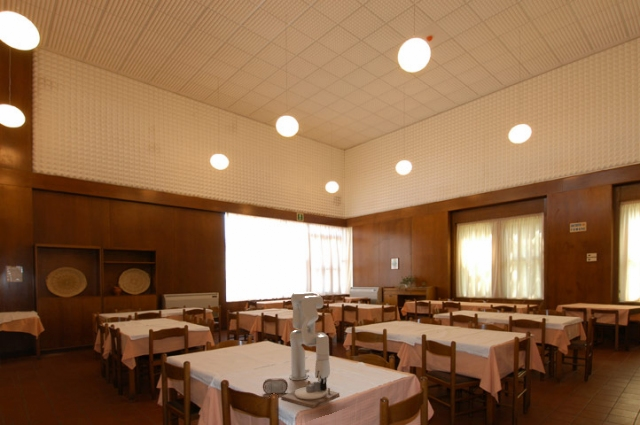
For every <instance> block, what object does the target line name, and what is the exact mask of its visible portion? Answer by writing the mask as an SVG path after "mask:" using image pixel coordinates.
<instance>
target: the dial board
mask: <svg viewBox="0 0 640 425" xmlns="http://www.w3.org/2000/svg"><path fill="white" fill-rule="evenodd" d="M309 384H311V380H307V385H309ZM327 388H328V389H327V390H326V395H325V396H324V397H322V398H319V399H311V400H307V399H300V398H297V397H296V396H295V391H296V390H294V391H292V392H289V393H286V394H284V395H281V398H280V399H281V400H282V401H283V400H284V401H286V402H289V403H294V404H297V405H301V406H303V407H307V408H312V409H315V408H316V407H318V406H321V405H323V404H325V403H327V402H329V401H331V400H333V399H335V398H337V397H339V396H340V392H337V391H333V390H331V387H327Z"/></svg>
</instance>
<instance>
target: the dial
mask: <svg viewBox="0 0 640 425" xmlns="http://www.w3.org/2000/svg"><path fill="white" fill-rule="evenodd" d="M294 391H295V396H296V397H297V398H300V399H307V400H311V399H319V398H322V397H324V396H325V395H326V390H325V391H323V390H320V381H313V384H311V383H310V384H309V385H308V384H306V385H305V386H303V387H300V388H297V389H295V390H294Z"/></svg>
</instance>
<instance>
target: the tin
mask: <svg viewBox="0 0 640 425" xmlns="http://www.w3.org/2000/svg"><path fill="white" fill-rule="evenodd" d="M288 384H289V383H288V381H287V380H286V379H284V378H266V379H265V380H264V381H263V384H262V390H263V392H264V393H265V394H267V395H272V394H271V393H277V394H276V395H281V394H285V393H286V392H287V390H288V387H289V385H288Z"/></svg>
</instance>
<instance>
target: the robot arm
mask: <svg viewBox="0 0 640 425" xmlns="http://www.w3.org/2000/svg"><path fill="white" fill-rule="evenodd" d="M290 300H291V305H292V327H293V329H295V330H292V331H291V332H290V333H289V341H290V352H291V354H290V356H291V357H290V358H291V359H290V361H291V363H290V364H291V365H290V366H291V367H290V368H291V370H290V371H291V374H290V375H289V379H290V380H292V381H303V380H307V379H308V377H309V376H308V374H307V373H310V372H311V370H310V369H309V368H308V369H306V351H305V348H304V347H303V345H304V346H306V347H315V349H316V350H315V357H316V359H315V366H314V367H315V368H314V370H315V371H314V376H315V378H314V379H317V382H319V381H320V390H323V391H325V390H328V389H327V388H328V387H327V381H328V378H329V376H330V373H331V369H330V368H331V367H330V343H329V342H330V340H329V336H328V335H327V334H326V333H325V332H316V322H317V321H318V319H319V318H320V316H319V312H318V309H322V308H323V307H324V298H323V297H322V296H321V295H320V294H319V293H318V292H316V291H298V292H294V293H292V294H291V298H290Z"/></svg>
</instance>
